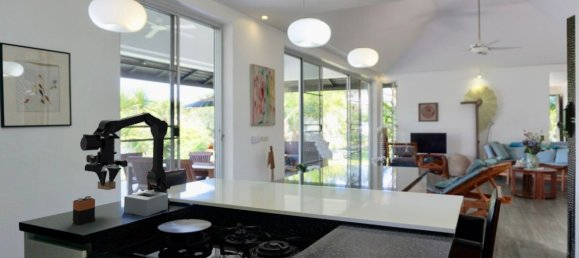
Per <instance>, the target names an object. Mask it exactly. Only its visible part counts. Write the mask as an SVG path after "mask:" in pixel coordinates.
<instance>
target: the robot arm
mask: <svg viewBox="0 0 579 258" xmlns="http://www.w3.org/2000/svg"><path fill="white" fill-rule="evenodd" d="M141 123H142V124H143V123H144V124H146V125H147V126H148V127H149V130H150V134H151V136H152V138H153V139H152V141H153V143H152V168H151V169H150V170H148V171H147V180H148V183H149V184H150V185H151V188H154V189H153V191H154V192H161V193H168V190H170V189H171V186H172V184H171V183H170V182H169V181H168V180H167V174H166V171H165V168H164V155H165V154H164V151H165V148H164V147H165V145H164V144H165V137H166V135H167V134H168V131H169V130H168V129H169V123H168V122H167V121H165V120H163V119H160V118H158V117H157V116H154V115H153V114H152V113H150V112H141V113H138V114H134V115H129V116H126V117H122V118H119V119H117V118H116V119H103V120H101V121H99V123H98V127H97V128H96V129H95V131H94V132H93V133H92V134H86V133H83V134H82V137H81V139H80V142H79V146H80V149H81V150H82V151H84V152H87V151H97V153H96V155H94V154H87V155H86V158H85V159H86V164H85V165H84V172H91V173H95V174H96V176H97V177H98V181H100V183H101V186H104V184H105V180H107V176H108V181H114V182H115V179H116V177H117V176H118V174H119V172H120V171H121V170H122V168H126V167H128V166H129V165H128V164H129V163H128V161H127V159H119V158H117V159H115V155H117V153H118V152H117V151H116V150H115V149H116V147H115V145H116V144H115V143H116V140H115V139H118V140H120V139H121V137H120V136H119V135H118V134H117V133H118V132H119V131H121V130H122V129H124V128H127V127H131V126H134V125H138V124H141ZM98 150H99V151H98ZM120 166H121V167H120ZM106 169H107V170H106Z"/></svg>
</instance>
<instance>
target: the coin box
mask: <svg viewBox="0 0 579 258" xmlns="http://www.w3.org/2000/svg"><path fill="white" fill-rule="evenodd" d="M168 199H169V193H168V192H167V193H161V192H154V190H148V189H147V190H143V191H140V192H135V193H132V194H130V195H128V194H127V195H125V196H124V199H123V200H124V201H123V207H124V208H123V212H124V213H126V214H132V215H138V216H142V217H148V216H150V215H154V214H156V213H159V212H161V211H165V210H167V209H168V208H169V207H168V204H169V203H168V202H169V200H168Z"/></svg>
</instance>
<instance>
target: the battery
mask: <svg viewBox="0 0 579 258" xmlns="http://www.w3.org/2000/svg"><path fill="white" fill-rule="evenodd" d="M95 212H96V199H95V198H92V196H91V195H86V196H84V198H83V197H78V198H77V199H75V200H73V201H72V224H74V223H75V224H74V225H78V224H82V225H85V224H84V223H86V224H89V223H93V222H95V221H96V220H95V219H96V218H95V217H96V213H95ZM92 221H93V222H92ZM88 222H89V223H88Z"/></svg>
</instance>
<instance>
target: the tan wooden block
mask: <svg viewBox="0 0 579 258" xmlns="http://www.w3.org/2000/svg"><path fill="white" fill-rule="evenodd" d="M116 183H117V182H116V181H115V180H114V181H109V180H108V179H106V180H105V184H104V186H101V183H100V180H98V181H97V190H98V189H99V190H105V191H111V190H115V189H116V187H117V185H116Z"/></svg>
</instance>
